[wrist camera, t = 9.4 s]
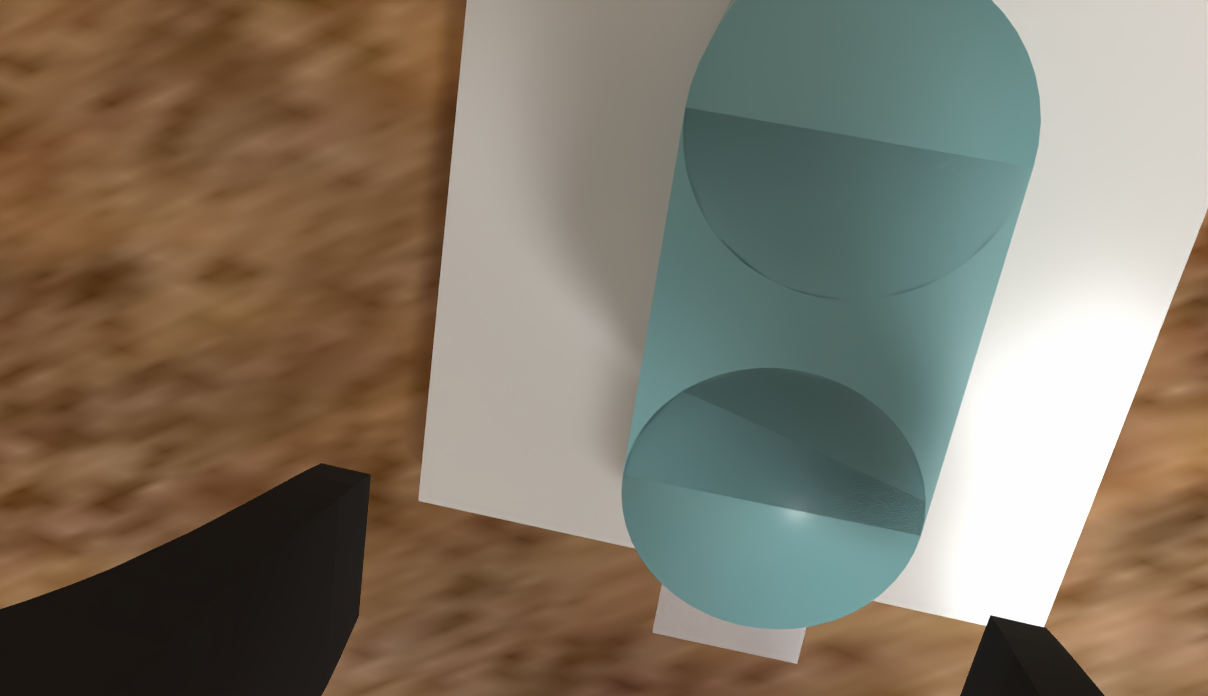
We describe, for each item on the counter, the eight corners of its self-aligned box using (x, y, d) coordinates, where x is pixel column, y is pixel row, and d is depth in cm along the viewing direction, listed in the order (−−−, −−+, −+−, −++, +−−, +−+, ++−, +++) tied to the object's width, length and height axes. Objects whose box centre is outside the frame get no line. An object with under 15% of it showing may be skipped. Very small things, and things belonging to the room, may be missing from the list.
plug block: (1007, -47, 16) (1088, -16, 12) (839, 569, 21) (850, 763, 16) (737, -90, 17) (716, -75, 12) (629, 525, 21) (583, 704, 17)
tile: (1275, -39, 17) (1302, -34, 16) (1029, 605, 22) (1039, 637, 21) (500, -170, 18) (483, -172, 17) (433, 475, 23) (418, 501, 22)
